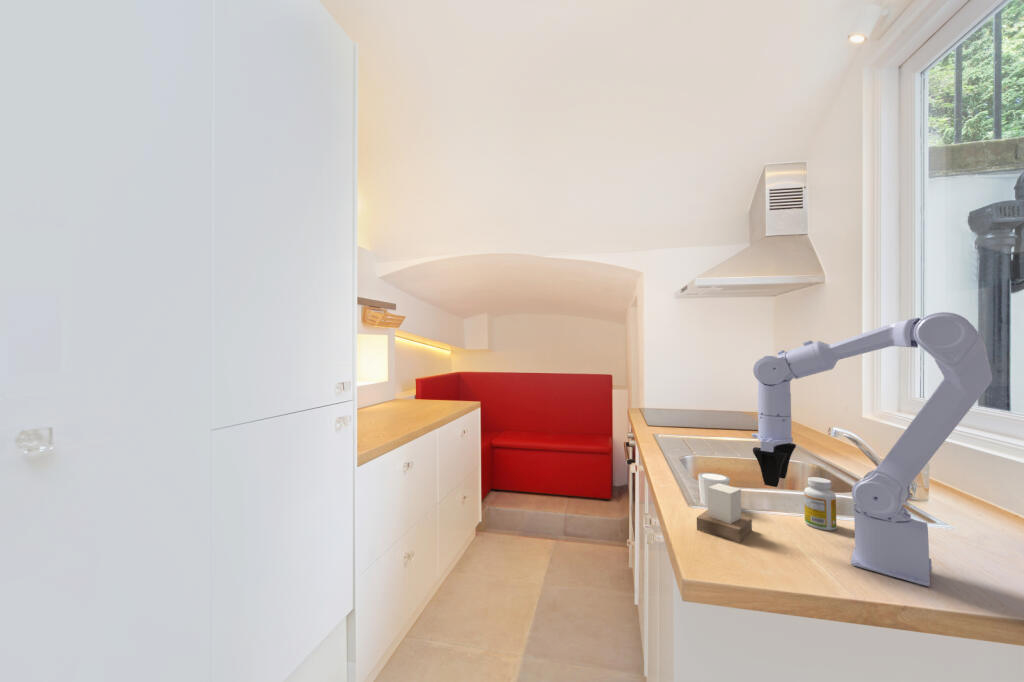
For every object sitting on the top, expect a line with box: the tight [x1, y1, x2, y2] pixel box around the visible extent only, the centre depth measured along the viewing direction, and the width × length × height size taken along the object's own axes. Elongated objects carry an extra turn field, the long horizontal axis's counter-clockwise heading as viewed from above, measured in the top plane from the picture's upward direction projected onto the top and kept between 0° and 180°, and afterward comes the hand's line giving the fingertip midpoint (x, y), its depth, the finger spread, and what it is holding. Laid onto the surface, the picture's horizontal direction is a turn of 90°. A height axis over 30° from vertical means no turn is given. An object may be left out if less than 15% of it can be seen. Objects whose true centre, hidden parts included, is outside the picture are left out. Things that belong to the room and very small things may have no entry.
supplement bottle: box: [803, 476, 837, 531], centre depth 86 cm, size 5×5×10 cm
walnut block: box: [696, 509, 753, 544], centre depth 83 cm, size 8×8×3 cm
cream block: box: [707, 483, 742, 524], centre depth 83 cm, size 4×4×6 cm
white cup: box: [697, 472, 730, 506], centre depth 96 cm, size 7×7×7 cm
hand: (775, 481), depth 82 cm, fingers open, 7 cm apart
